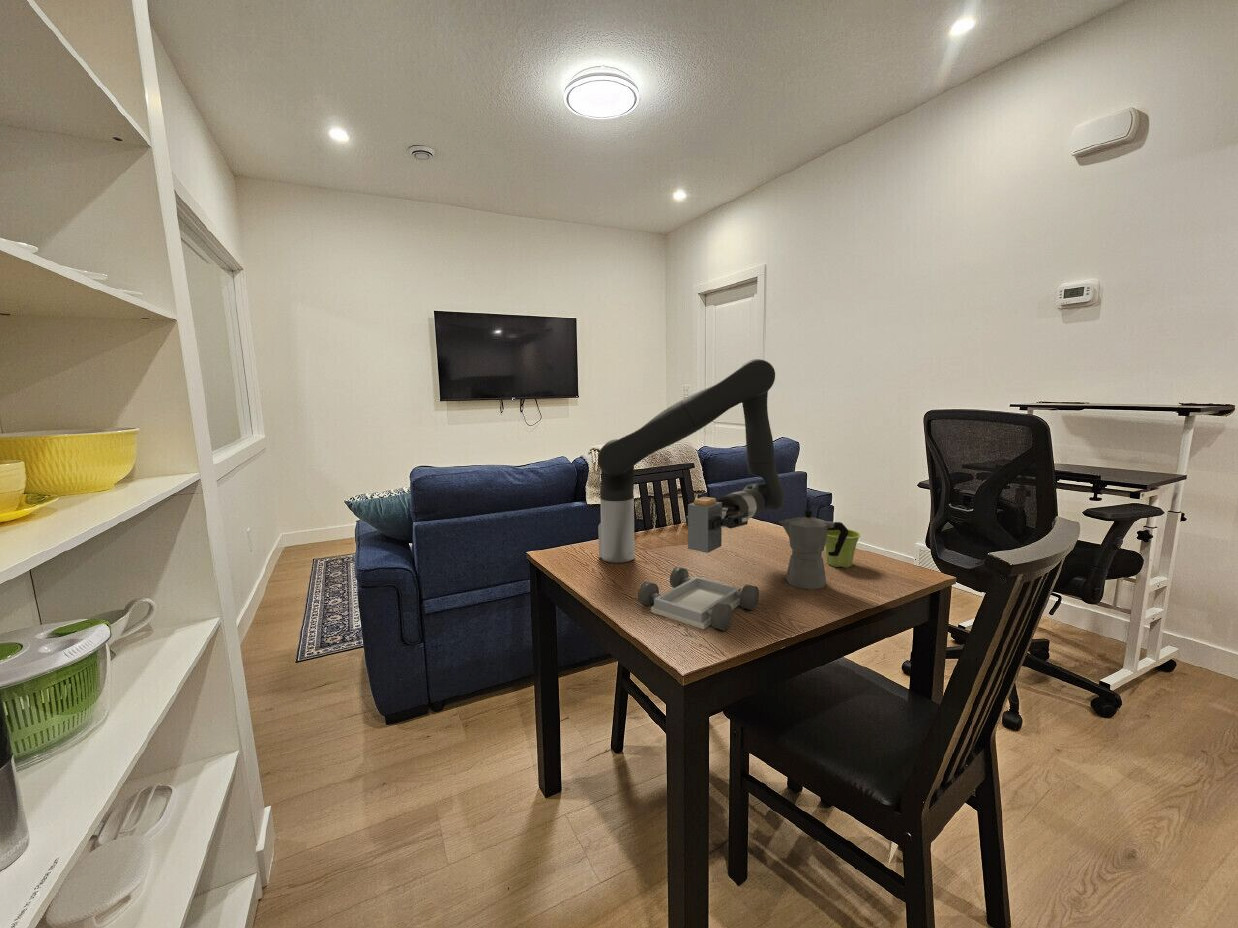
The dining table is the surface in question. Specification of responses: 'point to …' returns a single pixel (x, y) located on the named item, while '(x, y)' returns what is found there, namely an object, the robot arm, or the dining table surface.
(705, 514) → the tall block with cap
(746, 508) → the robot arm
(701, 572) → the dining table surface
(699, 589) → the chassis
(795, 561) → the coffeepot
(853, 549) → the plant pot
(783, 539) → the dining table surface
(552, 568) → the dining table surface
